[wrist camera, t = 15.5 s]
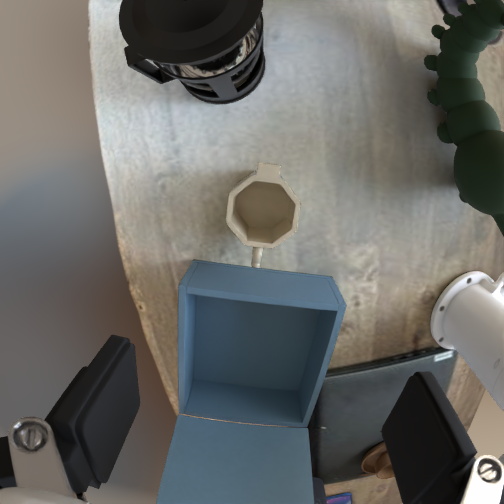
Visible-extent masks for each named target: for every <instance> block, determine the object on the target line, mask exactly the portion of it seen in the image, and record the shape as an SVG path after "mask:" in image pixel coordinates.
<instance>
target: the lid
mask: <svg viewBox="0 0 504 504" xmlns="http://www.w3.org/2000/svg"><path fill="white" fill-rule="evenodd" d="M156 504H314V495H313V482H312V469H311V458H310V446H309V435H308V428H290V427H273V426H260V425H249V424H240V423H231V422H223V421H216V420H209V419H202V418H196V417H190V416H184V415H179V414H178V417H177V421H176V425H175V429H174V432H173V437H172V440H171V444H170V448H169V452H168V456H167V460H166V464H165V468H164V472H163V476H162V480H161V484H160V488H159V493H158V497H157V501H156Z"/></svg>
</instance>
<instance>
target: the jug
mask: <svg viewBox="0 0 504 504" xmlns="http://www.w3.org/2000/svg"><path fill="white" fill-rule="evenodd" d="M280 168H281V165H277V164H270V163H262V162H258V169H257V171H256V170H255V172H254V171H253V172H251V173H250V174H249V175H248V176H246V177H245V178H244V179H242V180H241V181H240V182H238V183H237V184H236V185H235V186H234V187H233V189H232V190H231V192H230V193H229V195H228V204H227V213H226V222H227V223H226V224H227V225H228V226H229V228H230V229H231V230H232V231H233V233H234V234H235V235H236V236H237V237H238V239H239V240H240V241H241V242H242V243H243V244H245V245H246V246H253V252H252V262H251V265H252V267H253V268H259V267H260V265H261V258H262V250H263V248H269V249H272V247H273V248H275V247H276V246H278V245H279V244H281V243H282V242H283V241H285V240H286V239H287V238H289V237H290V236H292V235H293V234H294V233H296V231H297V226H298V220H299V214H300V208H301V203H300V201H299V199H298V198H297V196H296V195H295V193H294V192H293V191H292V189H291V188H290V187H289V185H288V184H287V183H286V181H285V180H284V179H283V178H282V176H281V175H280Z"/></svg>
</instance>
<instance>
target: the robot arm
mask: <svg viewBox="0 0 504 504" xmlns="http://www.w3.org/2000/svg"><path fill="white" fill-rule="evenodd" d="M503 284H504V271H503V273H502V274H501V275H500V276H499V278H498V279H497V280H496V282H494V281H493V280H492V278H491V277H489V276H488V275H487V274H485V273H483V272H479V271H473V272H468V273H465V274H463V275H461V276H459V277H458V278H456V279H455V280H454V281H453V282H451V283H450V284H449V285H448V286H447V287H446V288H445V290H444V291H443V292H442V294H441V295H440V297H439V299H438V300H437V302H436V304H435V307H434V309H433V312H432V316H431V324H430V326H431V333H432V336H433V338H434V339H435V341H436V342H437V343H438V344H439V345H440V346H441V347H443V348H446V349H456V350H457V351H458V353H459V354H460V355H461V356H462V358H463V359H464V360H465V362H466V363H467V364H468V365H469V367H470V368H471V369H472V371H473V372H474V373H475V375H476V376H477V377H478V379H479V380H480V381H481V383H482V384H483V385H484V387H485V388H486V389H487V391H488V392H489V393H490V395H491V396H492V398H493V399H494V400H495V402H496V403H497V405H498V406H499V407H500V408H501V409H502V410H503V411H504V286H503V287H502V288H501V286H502V285H503ZM500 288H501V289H500ZM139 406H140V396H139V387H138V378H137V367H136V356H135V346H134V344H131V343H130V340H129V339H128V338H124V337H120V336H116V335H111V337H110V338H109V339H108V340H107V342H106V343H105V344H104V346H103V347H102V348H101V350H100V351H99V352H98V354H97V355H96V357H95V358H94V359H93V360H92V362H91V363H90V364H89V366H88V367H86V366H85V367H83V368H82V369H81V370H80V371H79V372H78V374H77V375H76V376H75V378H74V379H73V380H72V382H71V383H70V384H69V386H68V387H67V389H66V390H65V391H64V393H63V394H62V396H61V397H60V398H59V400H58V401H57V403H56V404H55V406H54V407H53V408H52V410H51V411H50V413H49V414H48V416H47V417H46V418H45V420H42V419H40V418H37V417H24V418H21V419H19V420H17V421H16V422H14V423H13V424H12V426H11V427H10V429H9V433H8V436H6V437H1V438H0V504H91V503H88V501H87V499H86V497H85V494H84V492H86V490H87V488H88V486H92V487H94V488H97V489H99V488H100V485H101V483H106V482H107V481H108V479H109V477H110V474H111V472H112V470H113V467H114V465H115V462H116V460H117V458H118V455H119V453H120V451H121V448H122V446H123V444H124V441H125V439H126V437H127V434H128V432H129V430H130V428H131V426H132V423H133V421H134V419H135V417H136V414H137V412H138V409H139ZM382 436H383V439H384V442H385V446H386V449H387V452H388V455H389V458H390V462H391V465H392V468H393V471H394V475H395V478H396V481H397V485H398V488H399V492H400V495H401V499H402V502H403V504H504V454H503V455H502V456H501V457H500V458H499V459H497V458H495V457H493V456H490V455H482V456H480V457H478V458H477V459H475V457H474V456H475V455H476V453H477V451H476V449H475V447H474V445H473V443H472V441H471V439H470V437H469V436H468V434H467V432H466V430H465V428H464V426H463V425H462V423H461V421H460V419H459V417H458V416H457V414H456V412H455V410H454V409H453V407H452V405H451V404H450V402H449V400H448V398H447V397H446V395H445V393H444V392H443V390H442V388H441V387H440V385H439V383H438V382H437V380H436V378H435V377H434V375H433V374H432V373H431V372H416V373H414V375H413V376H411V377H410V378H409V379H408V381H407V383H406V385H405V387H404V389H403V391H402V393H401V395H400V397H399V398H398V400H397V402H396V404H395V406H394V408H393V409H392V411H391V413H390V415H389V416H388V418H387V420H386V422H385V423H384V425H383V427H382Z"/></svg>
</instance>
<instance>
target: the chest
mask: <svg viewBox="0 0 504 504" xmlns="http://www.w3.org/2000/svg"><path fill="white" fill-rule="evenodd" d="M346 306H347V305H346V303H345V301H344V299H343V297H342V295H341V293H340V291H339V289H338V287H337V285H336V283H335V281H334V279H333V277H329V276H321V275H312V274H304V273H295V272H287V271H279V270H271V269H262V268H253V267H246V266H238V265H231V264H223V263H215V262H207V261H200V260H193V262H192V263H191V265H190V267H189V268H188V270H187V272H186V274H185V275H184V277H183V279H182V281H181V282H180V284H179V289H178V395H179V413H180V414H186V415H192V416H198V417H204V418H211V419H218V420H225V421H233V422H242V423H252V424H264V425H277V426H296V427H307V425H308V423H309V420H310V417H311V415H312V412H313V409H314V406H315V404H316V401H317V398H318V395H319V392H320V390H321V387H322V384H323V381H324V378H325V375H326V372H327V369H328V366H329V363H330V360H331V357H332V353H333V350H334V347H335V344H336V340H337V337H338V334H339V330H340V327H341V323H342V320H343V316H344V313H345V309H346Z"/></svg>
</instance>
